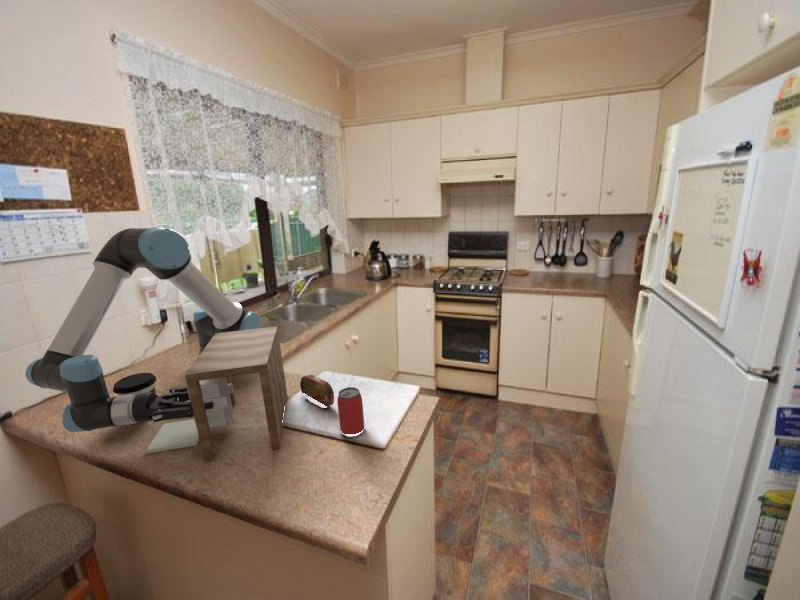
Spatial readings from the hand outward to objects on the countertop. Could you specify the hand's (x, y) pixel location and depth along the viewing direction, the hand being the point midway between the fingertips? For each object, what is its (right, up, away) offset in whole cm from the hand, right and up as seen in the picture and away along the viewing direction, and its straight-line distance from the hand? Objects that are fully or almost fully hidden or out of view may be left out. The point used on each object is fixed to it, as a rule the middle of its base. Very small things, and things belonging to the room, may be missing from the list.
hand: (229, 394), depth 102 cm
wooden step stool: (+4, -10, +4) cm, 11 cm away
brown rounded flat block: (+22, -6, +14) cm, 26 cm away
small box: (-4, -8, +1) cm, 9 cm away
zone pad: (-14, -12, 0) cm, 18 cm away
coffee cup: (-32, -10, +12) cm, 35 cm away
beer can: (+34, -10, -1) cm, 36 cm away
